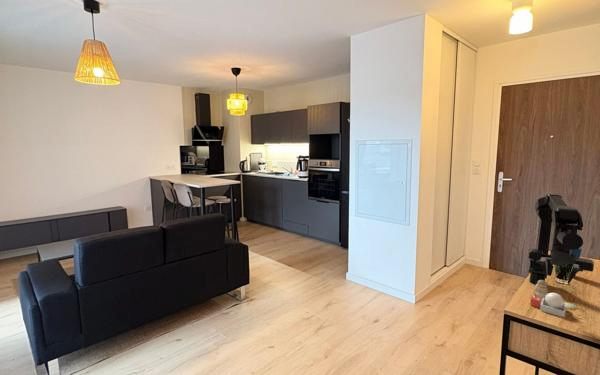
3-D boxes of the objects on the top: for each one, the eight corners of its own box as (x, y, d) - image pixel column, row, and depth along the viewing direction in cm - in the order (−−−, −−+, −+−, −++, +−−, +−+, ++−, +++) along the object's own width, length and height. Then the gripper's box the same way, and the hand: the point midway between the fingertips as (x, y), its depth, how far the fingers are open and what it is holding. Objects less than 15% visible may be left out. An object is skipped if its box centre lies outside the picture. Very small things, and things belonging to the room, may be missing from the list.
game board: (534, 294, 138) (535, 286, 138) (577, 305, 129) (579, 297, 128) (528, 310, 125) (529, 301, 125) (576, 324, 116) (578, 315, 115)
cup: (577, 275, 158) (582, 246, 156) (577, 279, 153) (581, 249, 151) (560, 271, 163) (564, 243, 161) (559, 275, 158) (563, 246, 156)
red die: (531, 302, 129) (532, 294, 128) (540, 305, 127) (541, 297, 126) (530, 305, 127) (531, 297, 126) (539, 308, 125) (540, 300, 124)
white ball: (544, 301, 127) (546, 288, 126) (563, 306, 123) (564, 293, 122) (543, 307, 123) (545, 293, 122) (562, 312, 119) (564, 298, 118)
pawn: (532, 294, 135) (534, 277, 134) (543, 296, 134) (545, 278, 133) (536, 299, 132) (538, 281, 130) (547, 300, 130) (550, 283, 129)
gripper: (529, 240, 119) (524, 280, 122) (596, 253, 107) (590, 296, 109) (532, 234, 128) (528, 271, 130) (596, 245, 115) (589, 285, 118)
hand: (556, 281), depth 121 cm, fingers open, 6 cm apart
